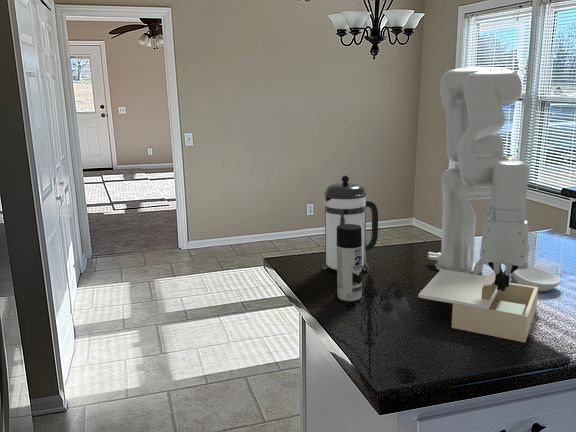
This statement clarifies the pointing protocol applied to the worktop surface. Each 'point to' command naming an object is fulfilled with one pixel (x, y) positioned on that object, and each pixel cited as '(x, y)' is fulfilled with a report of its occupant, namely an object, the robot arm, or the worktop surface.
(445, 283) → the lid
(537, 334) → the worktop surface
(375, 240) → the coffee press
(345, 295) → the spray can
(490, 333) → the box
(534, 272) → the spoon rest
